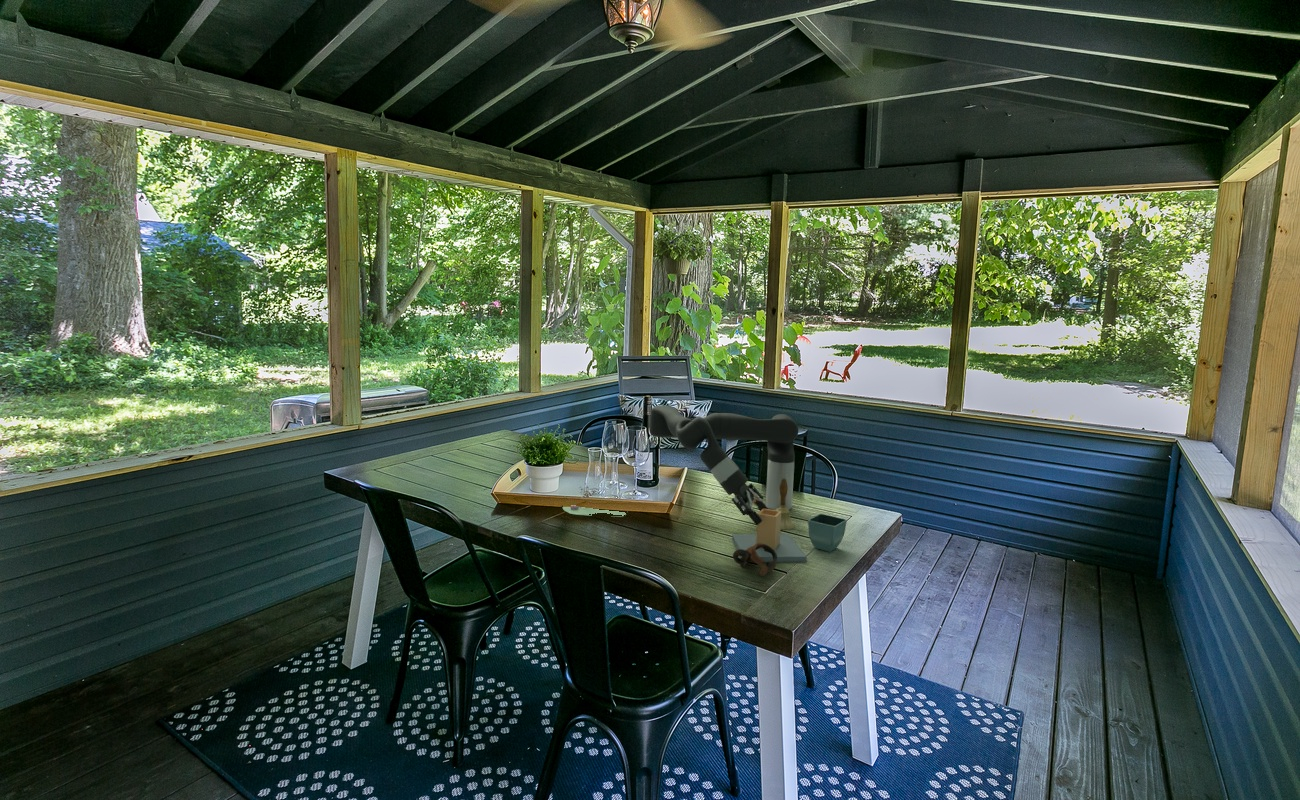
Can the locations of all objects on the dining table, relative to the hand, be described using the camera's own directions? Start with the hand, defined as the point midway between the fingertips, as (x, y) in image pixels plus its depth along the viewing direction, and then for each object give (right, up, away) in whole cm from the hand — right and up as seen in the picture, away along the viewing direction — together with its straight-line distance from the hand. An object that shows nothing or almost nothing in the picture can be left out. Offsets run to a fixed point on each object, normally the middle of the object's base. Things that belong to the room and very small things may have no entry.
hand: (764, 518), depth 196 cm
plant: (-52, -3, +37) cm, 65 cm away
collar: (+1, -8, +1) cm, 8 cm away
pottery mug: (-5, -12, -13) cm, 18 cm away
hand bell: (+10, -6, +23) cm, 26 cm away
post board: (+1, -9, +1) cm, 10 cm away
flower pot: (+19, -10, +4) cm, 22 cm away
